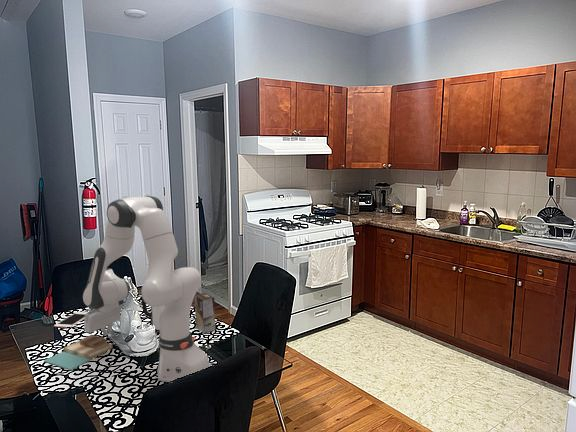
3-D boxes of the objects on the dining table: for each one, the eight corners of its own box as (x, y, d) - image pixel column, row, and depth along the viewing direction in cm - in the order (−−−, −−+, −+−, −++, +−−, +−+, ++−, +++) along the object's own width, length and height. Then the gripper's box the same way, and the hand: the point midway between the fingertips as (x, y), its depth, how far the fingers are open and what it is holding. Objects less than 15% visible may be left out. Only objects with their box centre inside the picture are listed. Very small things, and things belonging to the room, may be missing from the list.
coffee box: (216, 330, 200) (215, 297, 197) (203, 333, 196) (202, 300, 194) (207, 323, 207) (206, 292, 205) (195, 327, 203) (193, 295, 201)
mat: (90, 360, 171) (90, 359, 171) (70, 370, 163) (70, 369, 163) (63, 352, 177) (63, 351, 177) (43, 361, 170) (43, 360, 170)
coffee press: (179, 320, 212) (177, 261, 207) (184, 332, 197) (181, 270, 192) (143, 325, 205) (139, 265, 201) (144, 338, 191) (141, 274, 186)
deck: (112, 348, 181) (112, 344, 180) (90, 360, 171) (90, 355, 171) (86, 341, 188) (86, 337, 187) (64, 352, 178) (63, 347, 177)
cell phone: (92, 314, 220) (92, 312, 220) (70, 328, 203) (70, 326, 202) (77, 313, 222) (77, 311, 221) (53, 327, 204) (53, 325, 204)
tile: (106, 342, 182) (106, 338, 182) (94, 348, 177) (94, 344, 176) (91, 339, 186) (91, 334, 185) (79, 344, 180) (79, 340, 180)
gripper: (89, 313, 175) (92, 345, 177) (128, 298, 193) (129, 327, 195) (79, 311, 178) (81, 342, 180) (118, 296, 196) (119, 324, 198)
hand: (107, 334), depth 187 cm, fingers closed
